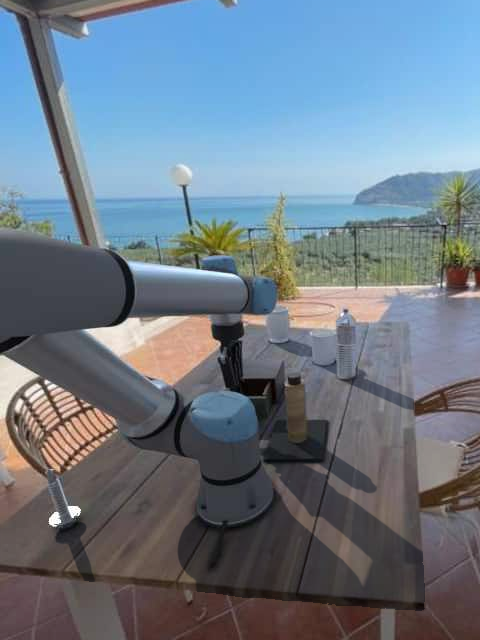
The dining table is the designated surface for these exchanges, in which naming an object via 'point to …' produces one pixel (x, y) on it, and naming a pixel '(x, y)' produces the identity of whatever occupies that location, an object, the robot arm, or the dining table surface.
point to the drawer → (259, 396)
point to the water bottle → (346, 346)
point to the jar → (278, 324)
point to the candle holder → (323, 346)
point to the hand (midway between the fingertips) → (238, 406)
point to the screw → (60, 504)
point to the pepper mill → (296, 408)
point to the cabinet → (265, 373)
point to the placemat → (302, 451)
